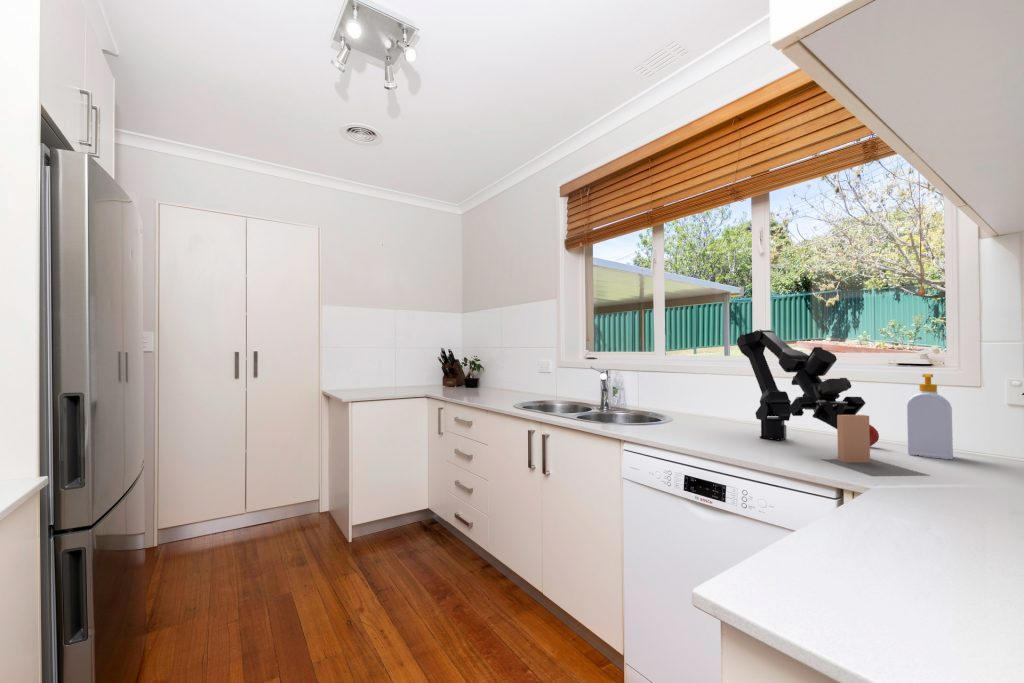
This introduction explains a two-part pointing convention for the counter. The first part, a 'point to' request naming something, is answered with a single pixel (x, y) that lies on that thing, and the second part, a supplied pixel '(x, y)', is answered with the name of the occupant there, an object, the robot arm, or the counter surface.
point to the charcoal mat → (876, 468)
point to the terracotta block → (853, 438)
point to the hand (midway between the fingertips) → (843, 430)
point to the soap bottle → (929, 423)
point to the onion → (873, 435)
